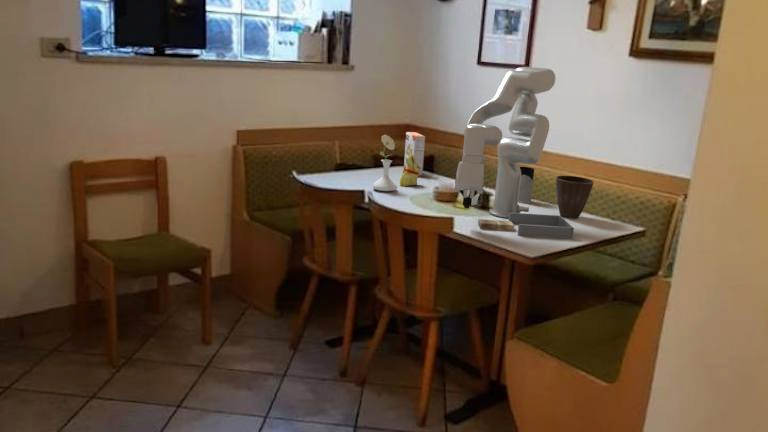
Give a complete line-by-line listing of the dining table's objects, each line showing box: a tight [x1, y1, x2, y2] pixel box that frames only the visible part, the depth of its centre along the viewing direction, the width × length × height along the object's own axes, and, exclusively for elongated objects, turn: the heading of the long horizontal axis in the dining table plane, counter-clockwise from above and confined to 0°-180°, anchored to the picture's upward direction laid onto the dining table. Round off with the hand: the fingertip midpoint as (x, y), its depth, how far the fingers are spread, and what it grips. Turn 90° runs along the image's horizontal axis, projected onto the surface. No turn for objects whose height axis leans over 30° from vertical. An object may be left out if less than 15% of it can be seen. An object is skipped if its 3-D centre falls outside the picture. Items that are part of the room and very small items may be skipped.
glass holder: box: [518, 166, 535, 204], centre depth 301 cm, size 9×14×15 cm, turn 163°
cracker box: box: [403, 131, 426, 177], centre depth 344 cm, size 14×6×21 cm, turn 17°
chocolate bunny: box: [399, 154, 420, 187], centre depth 316 cm, size 7×11×15 cm, turn 124°
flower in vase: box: [372, 134, 398, 192], centre depth 300 cm, size 13×11×25 cm
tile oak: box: [494, 220, 515, 232], centre depth 251 cm, size 6×6×2 cm
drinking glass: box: [467, 190, 479, 207], centre depth 284 cm, size 7×7×15 cm
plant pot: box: [555, 175, 594, 220], centre depth 274 cm, size 15×15×16 cm
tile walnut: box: [477, 218, 497, 231], centre depth 251 cm, size 6×6×2 cm
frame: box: [508, 212, 575, 239], centre depth 251 cm, size 20×18×4 cm
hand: (466, 207), depth 248 cm, fingers closed
